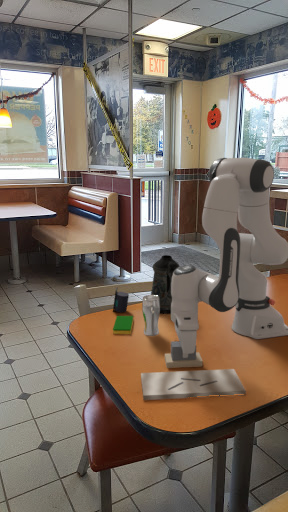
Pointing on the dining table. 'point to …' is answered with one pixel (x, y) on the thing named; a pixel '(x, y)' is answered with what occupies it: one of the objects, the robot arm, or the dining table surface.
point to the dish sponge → (123, 325)
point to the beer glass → (151, 314)
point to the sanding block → (181, 357)
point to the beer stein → (164, 282)
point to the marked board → (190, 384)
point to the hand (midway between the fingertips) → (183, 352)
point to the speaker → (120, 301)
